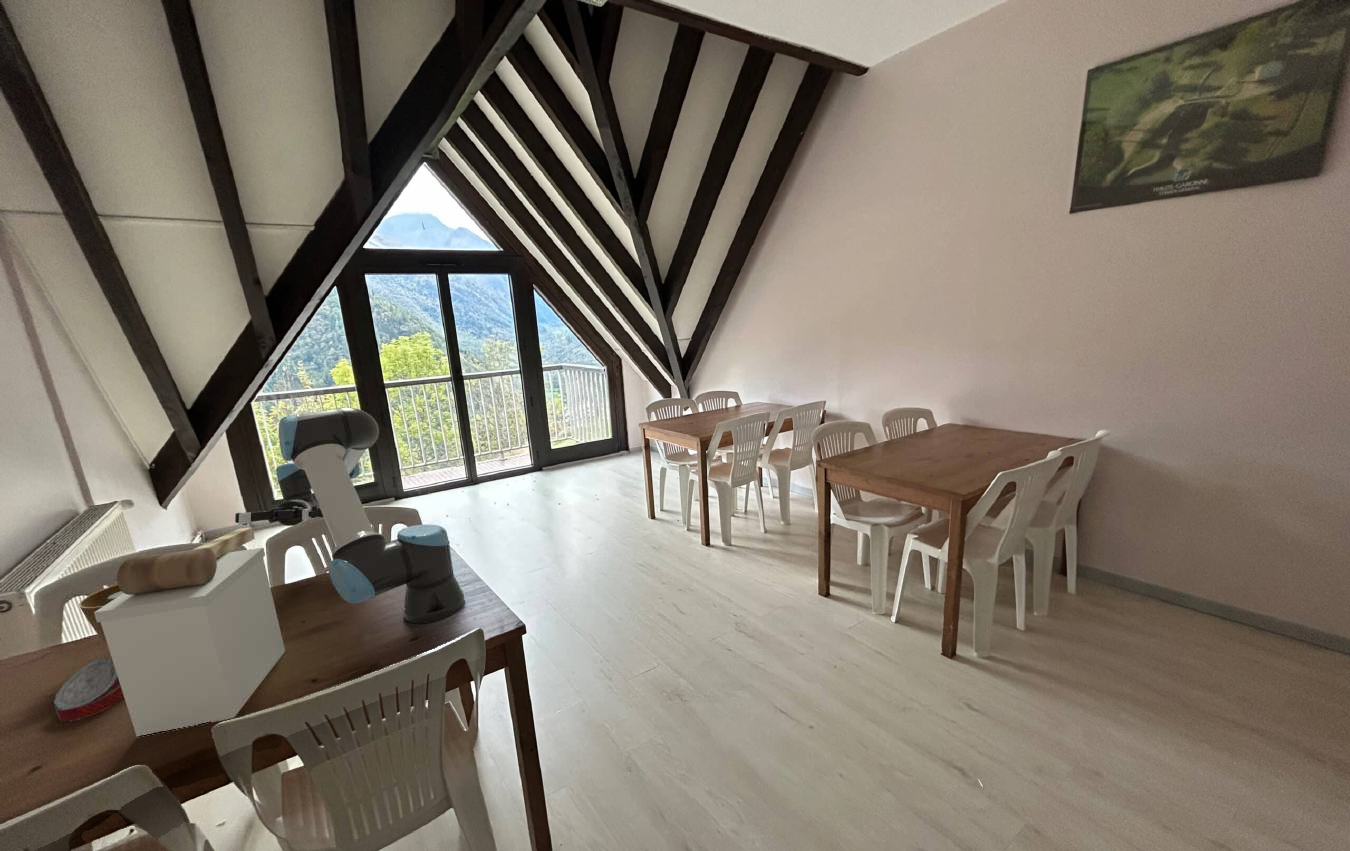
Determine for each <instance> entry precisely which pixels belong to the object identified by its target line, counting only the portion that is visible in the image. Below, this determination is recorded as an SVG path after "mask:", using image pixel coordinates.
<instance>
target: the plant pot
mask: <svg viewBox="0 0 1350 851" xmlns="http://www.w3.org/2000/svg"><path fill="white" fill-rule="evenodd" d="M117 592H121V590H120V588H119V586H118V583H117V584H114V585H111V586H109V587H106V588H103V589H100V590H98V591H96V592H94V593H92V594H90V595H88V596H87V597H85V598H84V599H82V600H81V601H80V602H79V603H78V605H79V608H80V609H81V611H82V614H83V615H84V616H85V618H86V620H87V621H88V622H89V625H90V626H91V627H92V629H94V631H95V632H96V634H97V635H98V636H99V637H100V639H101V640H102V641H103V642H105V644H106V645H107V646H108V644H107V641H106V638H105V635H104V632H103V628H102V625H101V622H97V621H96V618H95V614H94V612H96V611H97V610H99V609H100V608H102V607H103V606H105V605H106V604H108V599H107V598H108V597H109V596H111V595H113V594H115V593H117Z"/></svg>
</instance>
